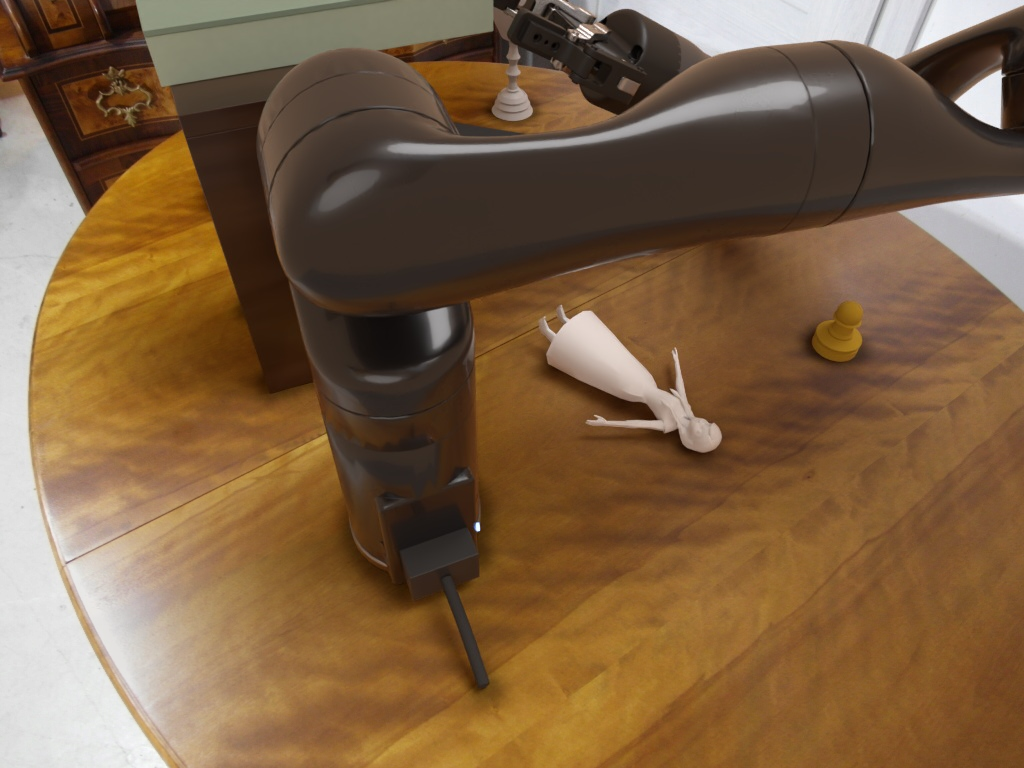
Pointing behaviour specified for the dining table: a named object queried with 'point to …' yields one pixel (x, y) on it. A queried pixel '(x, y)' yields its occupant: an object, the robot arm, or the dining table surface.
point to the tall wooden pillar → (244, 211)
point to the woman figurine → (624, 378)
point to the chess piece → (840, 333)
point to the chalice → (510, 77)
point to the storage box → (291, 31)
